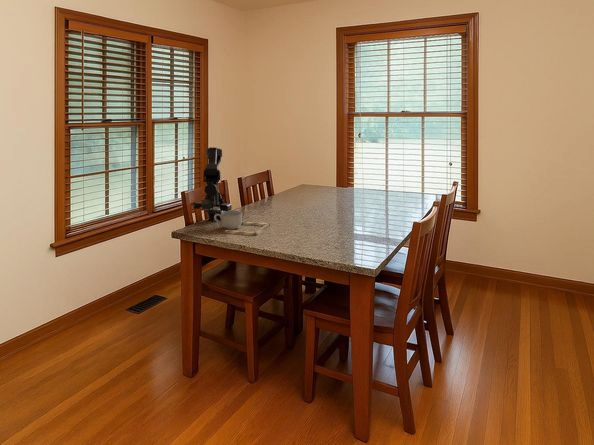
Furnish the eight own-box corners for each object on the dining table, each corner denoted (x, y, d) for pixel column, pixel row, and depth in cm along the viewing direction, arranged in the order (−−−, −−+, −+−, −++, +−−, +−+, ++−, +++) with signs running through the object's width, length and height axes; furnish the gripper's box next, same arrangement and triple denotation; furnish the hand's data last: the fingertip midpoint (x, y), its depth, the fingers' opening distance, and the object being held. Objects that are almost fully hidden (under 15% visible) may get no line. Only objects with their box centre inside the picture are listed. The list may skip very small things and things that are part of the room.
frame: (225, 233, 220) (224, 230, 220) (240, 223, 240) (240, 221, 239) (256, 235, 217) (256, 233, 216) (269, 225, 236) (269, 223, 235)
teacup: (243, 225, 236) (242, 210, 234) (241, 230, 226) (241, 214, 224) (215, 225, 236) (215, 210, 234) (213, 230, 225) (212, 214, 223)
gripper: (187, 193, 223) (188, 224, 227) (222, 196, 219) (223, 227, 222) (198, 190, 234) (199, 220, 237) (231, 192, 229) (232, 222, 233)
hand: (213, 222), depth 232 cm, fingers closed
